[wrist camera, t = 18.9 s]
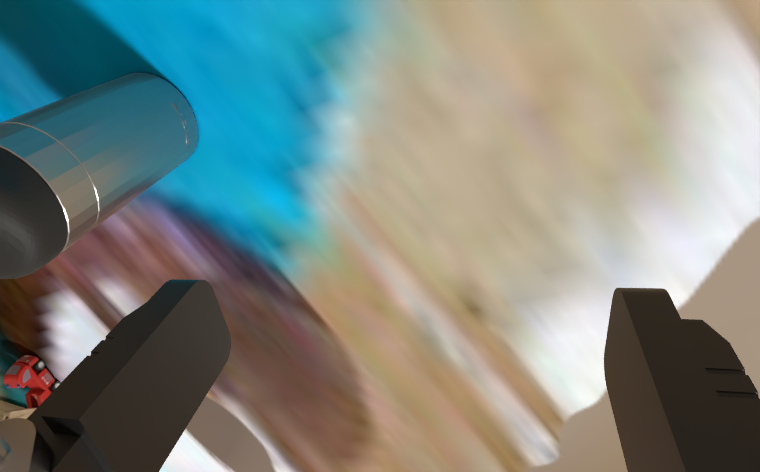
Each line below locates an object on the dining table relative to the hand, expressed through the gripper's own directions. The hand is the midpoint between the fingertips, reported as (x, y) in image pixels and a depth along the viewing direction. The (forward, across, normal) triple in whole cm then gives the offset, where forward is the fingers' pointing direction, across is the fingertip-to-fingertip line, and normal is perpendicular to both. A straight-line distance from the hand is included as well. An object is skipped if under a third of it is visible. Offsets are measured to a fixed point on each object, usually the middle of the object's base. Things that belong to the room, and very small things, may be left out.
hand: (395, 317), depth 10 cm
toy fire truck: (+33, +65, +45) cm, 86 cm away
